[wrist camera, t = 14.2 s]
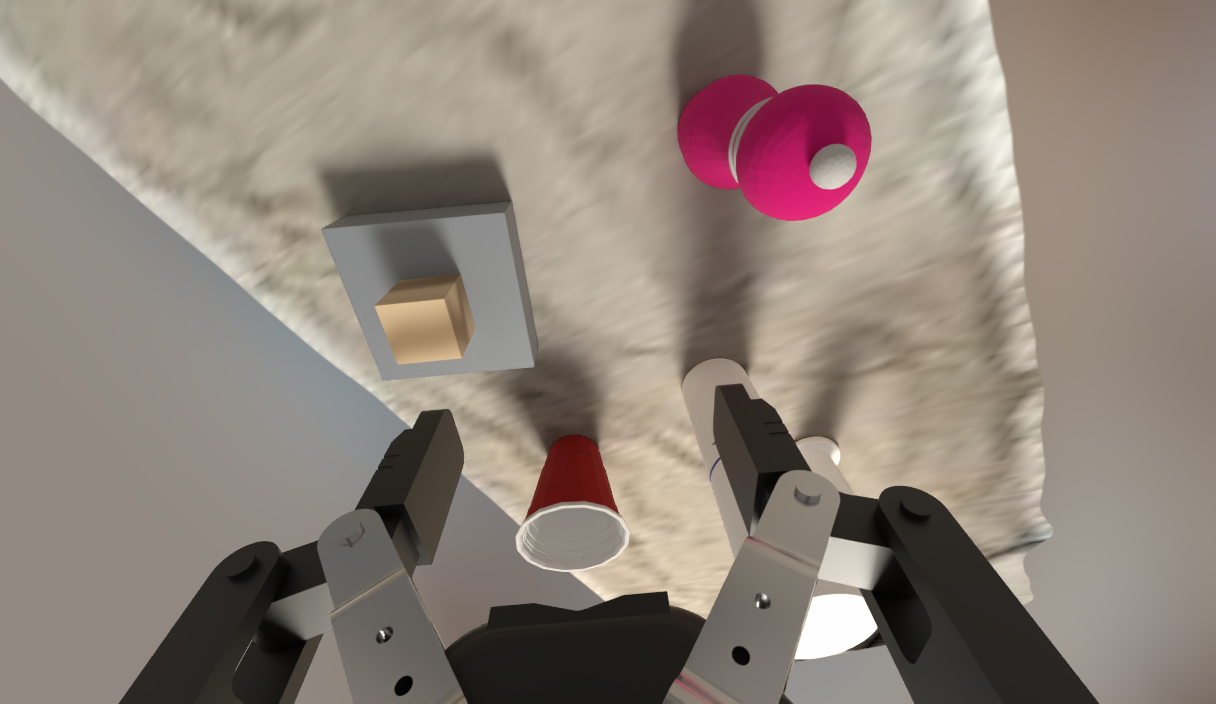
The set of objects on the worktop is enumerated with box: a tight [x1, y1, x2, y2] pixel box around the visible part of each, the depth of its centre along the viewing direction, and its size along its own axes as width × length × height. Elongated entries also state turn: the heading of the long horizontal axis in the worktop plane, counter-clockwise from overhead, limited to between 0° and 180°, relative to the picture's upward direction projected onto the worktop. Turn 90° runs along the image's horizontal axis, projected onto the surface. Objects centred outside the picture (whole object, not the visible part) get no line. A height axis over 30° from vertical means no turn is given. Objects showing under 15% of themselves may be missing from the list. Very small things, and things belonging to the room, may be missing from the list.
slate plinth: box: [321, 201, 538, 381], centre depth 39 cm, size 14×14×4 cm
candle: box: [795, 437, 856, 496], centre depth 43 cm, size 7×7×25 cm
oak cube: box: [375, 274, 475, 365], centre depth 35 cm, size 5×5×5 cm
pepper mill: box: [678, 74, 872, 221], centre depth 27 cm, size 7×7×20 cm
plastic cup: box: [516, 435, 630, 572], centre depth 47 cm, size 11×11×12 cm
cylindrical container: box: [682, 358, 877, 659], centre depth 37 cm, size 7×7×25 cm
